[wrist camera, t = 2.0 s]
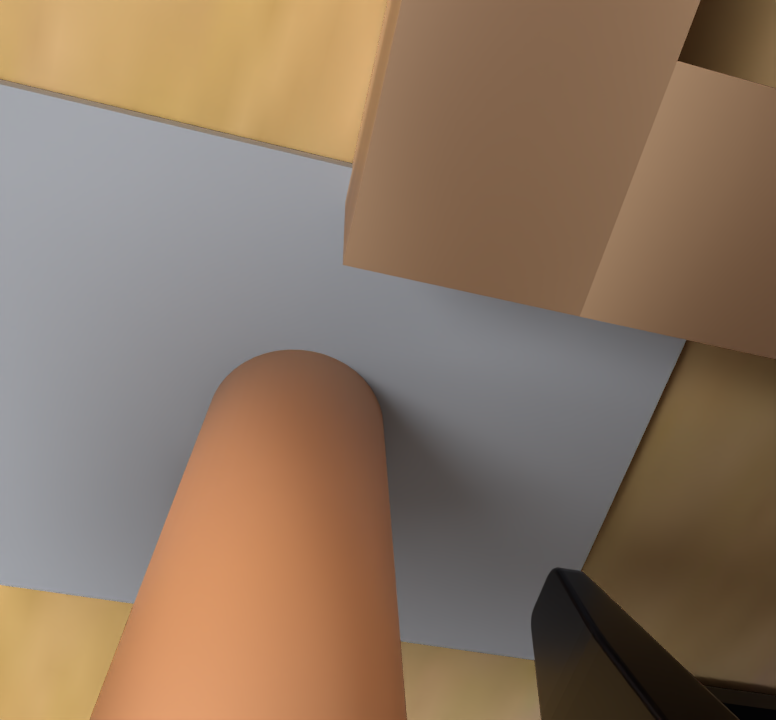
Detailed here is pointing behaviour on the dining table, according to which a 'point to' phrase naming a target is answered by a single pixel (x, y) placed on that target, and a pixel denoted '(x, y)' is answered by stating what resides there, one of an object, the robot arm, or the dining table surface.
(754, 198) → the hole block
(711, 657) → the dining table surface
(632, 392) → the mat
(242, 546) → the peg
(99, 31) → the dining table surface
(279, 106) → the dining table surface
